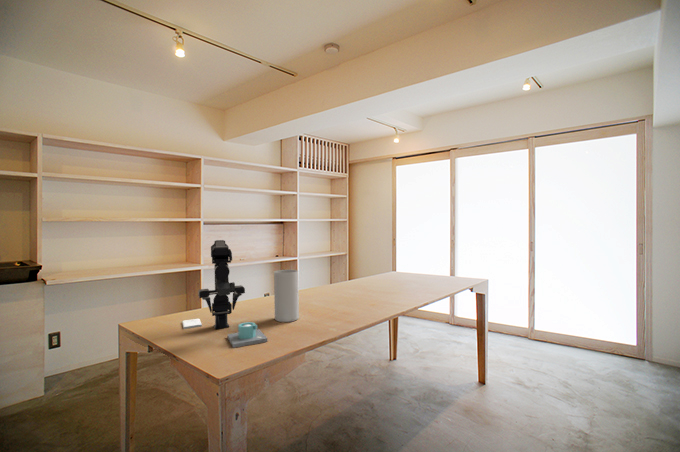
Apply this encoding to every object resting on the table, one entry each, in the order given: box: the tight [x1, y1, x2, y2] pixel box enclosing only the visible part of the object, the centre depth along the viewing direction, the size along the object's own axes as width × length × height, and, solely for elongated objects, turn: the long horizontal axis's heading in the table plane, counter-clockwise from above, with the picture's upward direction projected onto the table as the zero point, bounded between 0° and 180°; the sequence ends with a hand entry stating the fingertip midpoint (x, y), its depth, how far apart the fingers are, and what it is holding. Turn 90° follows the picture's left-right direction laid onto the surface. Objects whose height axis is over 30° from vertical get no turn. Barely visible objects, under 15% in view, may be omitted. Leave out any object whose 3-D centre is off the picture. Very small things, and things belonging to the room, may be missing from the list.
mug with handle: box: [237, 321, 258, 339], centre depth 144 cm, size 8×7×5 cm
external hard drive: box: [181, 318, 203, 330], centre depth 168 cm, size 2×8×12 cm
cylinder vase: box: [273, 269, 300, 323], centre depth 174 cm, size 12×12×25 cm
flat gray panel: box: [227, 325, 268, 349], centre depth 144 cm, size 14×14×6 cm
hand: (222, 311), depth 146 cm, fingers open, 9 cm apart
